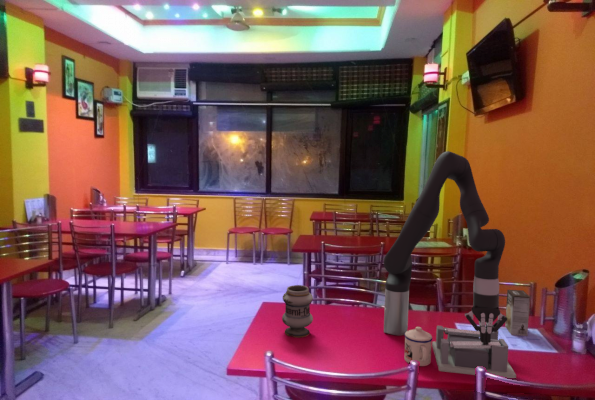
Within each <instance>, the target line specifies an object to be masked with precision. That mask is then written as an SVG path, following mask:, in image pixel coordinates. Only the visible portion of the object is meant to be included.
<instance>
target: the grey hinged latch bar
mask: <svg viewBox="0 0 595 400" xmlns="http://www.w3.org/2000/svg"><path fill="white" fill-rule="evenodd" d="M443 329H444V334H445V335H448V334H453V335H463V336H473V337H479V338H480V331H476V330H471V329H460V328H451V327H450V328H449V327H446V326H443Z"/></svg>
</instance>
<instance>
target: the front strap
mask: <svg viewBox="0 0 595 400" xmlns="http://www.w3.org/2000/svg"><path fill="white" fill-rule="evenodd" d="M448 343H449V346H450V348H451V349H453V348H492V345H498V346H501V344H500V343H499V342H490V343H489V344H483V343H482V342H474V341H449V342H448Z"/></svg>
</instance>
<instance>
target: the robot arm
mask: <svg viewBox="0 0 595 400" xmlns="http://www.w3.org/2000/svg"><path fill="white" fill-rule="evenodd" d="M448 179H449V180H451V181H453V182H454V183H455V184H456V186H457V188H458V189H459V193H460V195H459V196H460V197H459V207H460V210H461V213H462V216H463V218H464V220H465V222H466V226H467V228H466V229H467V234H468V243H469V246H470V247H471V248H472V249H473V250H474V251H475V252H480V253H482V252H486V253H485V254H484V255H483V256H482V257H478V258H476V260H475V261H474V277H473V278H474V279H473V286H472V288H473V290H472V291H473V292H472V293H473V295H472V296H473V299H472V300H473V303H472V308H471V311H469V312H465V313H464V316H465V318H466V320H467V321H468V322H469V323H470V325H471V326H472V327H473V328H474V331H480V337H479V338H480V341H481V342H482V343H483V344H489V343H490V342H491V333H492V332H497V331H498V332H499V330H500V329H501V327H502V326H503V325H505V322H506V321H507V317H506V314H502V312H501V310H500V308H499V307H500V305H499V304H500V281H499V270H500V269H499V267H500V266H499V265H500V262H501V260H502V256H503V253H504V250H505V246H506V238H505V235H504V233H503V232H502V231H501V230H500V229H497V228H490V229H489V228H488V229H487V228H486V229H483V227H485V226H486V225H488V224H489V221H490V218H489V215H488V214H489V213H487V210H486V208H485V205H484V204H483V202H482V200H481V198H480V196H479V193H478V190H477V185H476V183H475V178H474V176H473V172H472V167H471V164H470V162H469V160H468V159H467V158H466V157H465V156H463V155H460V154H457V153H455V152H453V151H449V150H448V151H444V152H442V153H440V154H439V156H438V158H437V159H436V160H435V163H434V165H433V167H432V169H431V172H430V173H429V176H428V179H427V181H426V183H425V185H424V187H423V189H422V191H421V193H420V195H419V197H418V198H417V200H416V202H415V204H414V205H413V207H412V209H411V211H410V212H409V214H408V217H407V219H406V220H405V222H404V224H403V226H402V227H401V230H400V233H399V235H398V237H397V238H396V240H395V242H393V244H392V245H391V247H390V249H389V250H388V252H387V253H386V254H385V256H384V258H383V267H384V269H385V271H386V272H387V273H388V276H387V279H386V281H385V284H384V285H385V287H384V288H385V290H384V292H385V294H384V311H383V313H384V315H383V317H384V318H383V333H384V334H385V333H386V334H388V335H389V334H390V335H393V336H405V333H406V331H408V330H409V329H408V328H409V326H408V324H409V302H410V301H409V297H410V285H411V282H412V281H411V280H412V270H413V259H412V254H413V251H414V249H415V248H416V246H417V245H418V244H419V243H420V241H422V239H423V238H424V237H425V236H426V234H427V233H428V232H429V230H430V229H431V228H432V226H433V224H434V223H435V221H436V219H437V217H438V215H439V214H440V213H439V212H440V205H441V203H440V200H441V199H440V198H441V197H440V196H441V195H440V194H441V191H442V189H443V187H444V184H445V183H446V181H447V180H448ZM474 317H475V318H476V320H478V324H479V325H477V323H476V322H475V320H474ZM495 320H496V321H495ZM493 322H494V323H493ZM492 325H493V326H492ZM485 326H486V331H485Z"/></svg>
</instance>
